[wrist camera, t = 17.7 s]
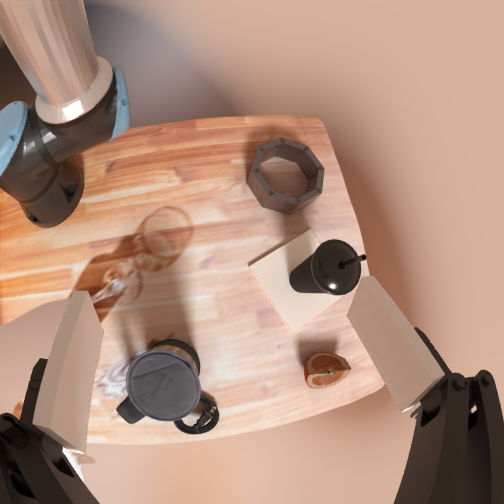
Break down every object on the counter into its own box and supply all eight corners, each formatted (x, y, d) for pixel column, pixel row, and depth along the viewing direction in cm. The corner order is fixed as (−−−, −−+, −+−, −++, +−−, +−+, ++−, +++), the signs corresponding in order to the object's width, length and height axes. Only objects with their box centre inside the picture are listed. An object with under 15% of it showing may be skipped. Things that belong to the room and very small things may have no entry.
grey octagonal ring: (236, 167, 51) (239, 154, 46) (289, 145, 55) (296, 131, 50) (273, 224, 50) (281, 215, 45) (325, 195, 54) (336, 185, 49)
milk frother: (163, 327, 42) (145, 334, 28) (244, 372, 43) (264, 398, 29) (127, 393, 38) (99, 423, 24) (206, 435, 39) (210, 479, 25)
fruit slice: (339, 349, 47) (352, 352, 42) (337, 382, 46) (350, 388, 41) (298, 352, 46) (309, 356, 41) (297, 387, 44) (307, 394, 39)
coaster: (248, 267, 47) (249, 266, 47) (309, 229, 51) (310, 228, 51) (290, 333, 46) (291, 334, 46) (346, 291, 50) (348, 290, 49)
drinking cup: (327, 290, 49) (397, 274, 29) (292, 307, 47) (352, 302, 27) (310, 252, 50) (372, 216, 30) (274, 268, 48) (324, 237, 28)
